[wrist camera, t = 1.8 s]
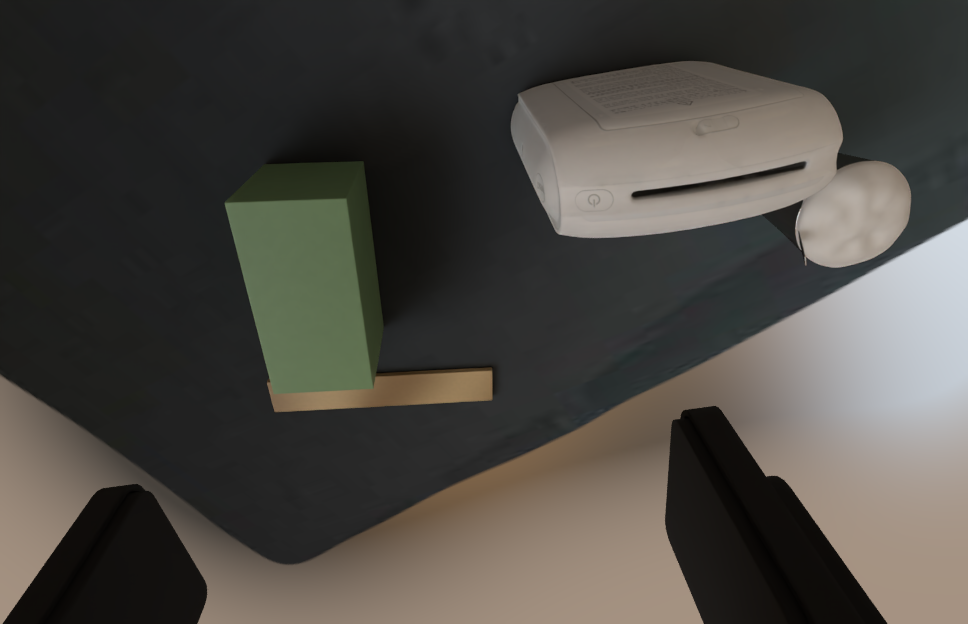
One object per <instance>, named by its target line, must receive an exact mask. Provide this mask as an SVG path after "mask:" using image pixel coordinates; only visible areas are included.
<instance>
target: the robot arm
mask: <svg viewBox="0 0 968 624" xmlns="http://www.w3.org/2000/svg"><path fill="white" fill-rule="evenodd" d="M667 486H668V487H667V501H666V515H665V525H666V530H667V535H668V538H669V541H670V544H671V546H672V548H673V551H674V553H675V556H676V558H677V561H678V563H679V565H680V568H681V570H682V572H683V575H684V577H685V580H686V582H687V584H688V587H689V589H690V591H691V594H692V596H693V599H694V601H695V604H696V606H697V608H698V611H699V613H700V616H701V618H702V620H703V623H704V624H887V622H886V621H885V620H884V618H883V617H882V615H881V614H880V613H879V611H878V610H877V608H876V607H875V606H874V604H873V603H872V602H871V600H870V599H869V597H868V596H867V594H866V593H865V591H864V590H863V589H862V587H861V586H860V584H859V583H858V582H857V580H856V579H855V578H854V576H853V575H852V574H851V572H850V571H849V569H848V568H847V566H846V565H845V563H844V562H843V561H842V559H841V558H840V556H839V555H838V554H837V552H836V551H835V549H834V548H833V547H832V545H831V544H830V542H829V541H828V540H827V538H826V537H825V535H824V534H823V533H822V531H821V530H820V528H819V527H818V525H817V524H816V523H815V521H814V520H813V519H812V517H811V516H810V514H809V513H808V511H807V510H806V509H805V507H804V506H803V504H802V503H801V502H800V500H799V499H798V497H797V496H796V495H795V493H794V492H793V490H792V489H791V488H790V487H789V485H788V484H787V483H786V482H785V481H784V480H783V479H781V478H780V477H778V476H767V477H766V476H765V475H764V473H763V472H762V470H761V469H760V467H759V466H758V464H757V463H756V461H755V460H754V458H753V457H752V455H751V454H750V452H749V451H748V450H747V448H746V447H745V445H744V444H743V442H742V441H741V439H740V438H739V436H738V435H737V433H736V432H735V430H734V429H733V427H732V426H731V424H730V423H729V421H728V420H727V418H726V417H725V416H724V414H723V412H722V411H721V410H720V409H719V408H718V407H716V406H711V407H704V408H697V409H689V410H684V411H683V412H682V414H681V419H677V420H673V422H672V427H671V443H670V456H669V471H668V485H667ZM206 598H207V585H206V583H205V580H204V579H203V577H202V575H201V574H200V572H199V570H198V568H197V567H196V565H195V563H194V562H193V560H192V558H191V557H190V555H189V553H188V552H187V550H186V548H185V547H184V545H183V543H182V542H181V540H180V538H179V537H178V535H177V533H176V532H175V530H174V528H173V527H172V525H171V523H170V522H169V520H168V518H167V517H166V515H165V513H164V512H163V510H162V509H161V507H160V505H159V503H158V502H157V500H156V498H155V497H154V495H153V494H152V493H151V492H149V491H145V490H144V489H143V488H142V486H140V485H138V484H132V485H124V486H117V487H109V488H103V489H101V490H99V491H97V492H96V493H95V494H94V495H93V496H92V498H91V499H90V501H89V502H88V504H87V505H86V506H85V508H84V509H83V511H82V512H81V513H80V515H79V516H78V518H77V519H76V521H75V522H74V523H73V525H72V526H71V528H70V529H69V530H68V532H67V533H66V535H65V536H64V537H63V539H62V540H61V542H60V543H59V545H58V546H57V547H56V549H55V550H54V552H53V553H52V554H51V556H50V557H49V559H48V560H47V561H46V563H45V564H44V566H43V567H42V569H41V570H40V571H39V573H38V574H37V576H36V577H35V578H34V580H33V581H32V583H31V584H30V586H29V587H28V588H27V590H26V591H25V593H24V594H23V596H22V597H21V598H20V600H19V601H18V603H17V604H16V605H15V607H14V608H13V610H12V611H11V612H10V614H9V615H8V617H7V618H6V620H5V621H4V622H3V624H197V623H198V621H199V618H200V615H201V613H202V610H203V608H204V605H205V602H206Z"/></svg>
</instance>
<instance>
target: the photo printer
mask: <svg viewBox="0 0 968 624" xmlns="http://www.w3.org/2000/svg"><path fill="white" fill-rule="evenodd" d="M518 99H519V102H518V103H517V104H516V106H515V109H514V111H513V114H512V118H511V134H512V138H513V141H514V144H515V146H516V148H517V151H518V153H519V155H520V157H521V160H522V162H523V164H524V167H525V169H526V171H527V173H528V175H529V178H530V180H531V182H532V184H533V186H534V189H535V191H536V193H537V195H538V197H539V199H540V201H541V203H542V205H543V207H544V208H545V210H546V212H547V214H548V216H549V219H550V221H551V223H552V225H553V227H554V229H555V231H556V232H557V233H558V234H560V235H566V236H573V237H584V238H611V237H627V236H639V235H650V234H658V233H666V232H674V231H681V230H688V229H694V228H700V227H705V226H711V225H717V224H722V223H726V222H731V221H736V220H740V219H745V218H749V217H753V216H757V215H761V214H764V213H768V212H771V211H774V210H778V209H781V208H784V207H787V206H789V205H792V204H795V203H797V202H799V201H801V200H803V199H806V198H808V197H810V196H812V195H814V194H815V193H817V192H819V191H821V190H822V189H824V188H825V187H826V186H827V185H828V184H829V183H830V182H831V181H832V179H833V178H834V176H835V174H836V173H837V167H836V160H837V154H838V151H839V148H840V145H841V143H842V141H843V134H842V128H841V124H840V121H839V118H838V115H837V113H836V111H835V109H834V108H833V106H832V105H831V103H830V102H829V101H828V100H827V98H826V97H825V96H824V95H822V94H821V93H819V92H817V91H815V90H812V89H809V88H805V87H801V86H797V85H793V84H789V83H785V82H781V81H777V80H774V79H770V78H766V77H763V76H759V75H755V74H751V73H747V72H743V71H740V70H736V69H733V68H729V67H725V66H722V65H718V64H714V63H710V62H701V61H681V62H673V63H664V64H657V65H650V66H643V67H637V68H630V69H623V70H618V71H612V72H606V73H600V74H595V75H588V76H583V77H578V78H572V79H567V80H562V81H557V82H553V83H548V84H543V85H540V86H537V87H533V88H531V89H528V90H526V91H523V92H521V93H519V94H518Z"/></svg>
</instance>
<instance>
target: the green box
mask: <svg viewBox="0 0 968 624" xmlns="http://www.w3.org/2000/svg"><path fill="white" fill-rule="evenodd" d="M225 206H226V210H227V214H228V218H229V222H230V226H231V230H232V234H233V238H234V242H235V245H236V249H237V253H238V257H239V261H240V265H241V269H242V273H243V277H244V281H245V284H246V288H247V292H248V296H249V300H250V304H251V308H252V312H253V316H254V320H255V323H256V327H257V331H258V335H259V339H260V343H261V347H262V351H263V355H264V358H265V362H266V366H267V370H268V374H269V378H270V382H271V386H272V390H273V394H286V393H305V392H324V391H342V390H361V389H373V388H374V383H375V377H376V371H377V365H378V359H379V353H380V347H381V341H382V335H383V329H384V326H383V317H382V309H381V301H380V293H379V284H378V276H377V268H376V260H375V251H374V243H373V235H372V227H371V219H370V210H369V202H368V194H367V186H366V177H365V169H364V162H363V161H354V162H321V163H289V164H264V165H263V166H262V167H261V168H260V169H259V170H258V171H257V172H256V173H255V174H254V175H253V176H252V177H251V178H250V179H249V180H248V181H247V182H245V183H244V184H243V185H242V186H241V187H240V188H239V189H238V190H237V191H236V192H235V193H234V194H233V195H232V196H231V197H230V198H229V199H228V200H227V201H226V202H225Z"/></svg>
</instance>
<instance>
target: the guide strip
mask: <svg viewBox="0 0 968 624" xmlns="http://www.w3.org/2000/svg"><path fill="white" fill-rule="evenodd" d="M267 385H268V388H269V392H270V396H271V400H272V404H273V408H274V411H275V412H287V411H305V410H323V409H342V408H360V407H378V406H396V405H414V404H432V403H450V402H468V401H486V400H492V367H487V368H468V369H448V370H429V371H410V372H391V373H376V377H375V383H374V388H373V389H361V390H342V391H324V392H305V393H286V394H273V390H272V386H271V382H270V379H268V381H267Z"/></svg>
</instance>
